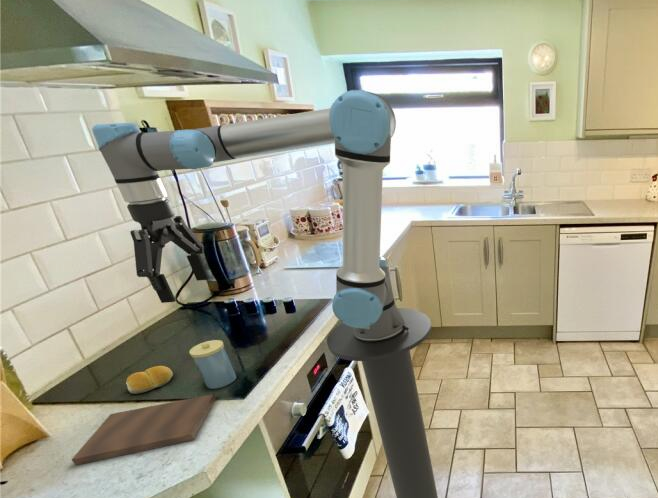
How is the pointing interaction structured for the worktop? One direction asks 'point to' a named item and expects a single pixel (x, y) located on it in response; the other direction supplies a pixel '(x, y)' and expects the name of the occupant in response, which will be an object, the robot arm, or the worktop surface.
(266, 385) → the worktop surface
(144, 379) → the bread roll
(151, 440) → the board
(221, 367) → the butter crock
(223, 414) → the worktop surface
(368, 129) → the robot arm
